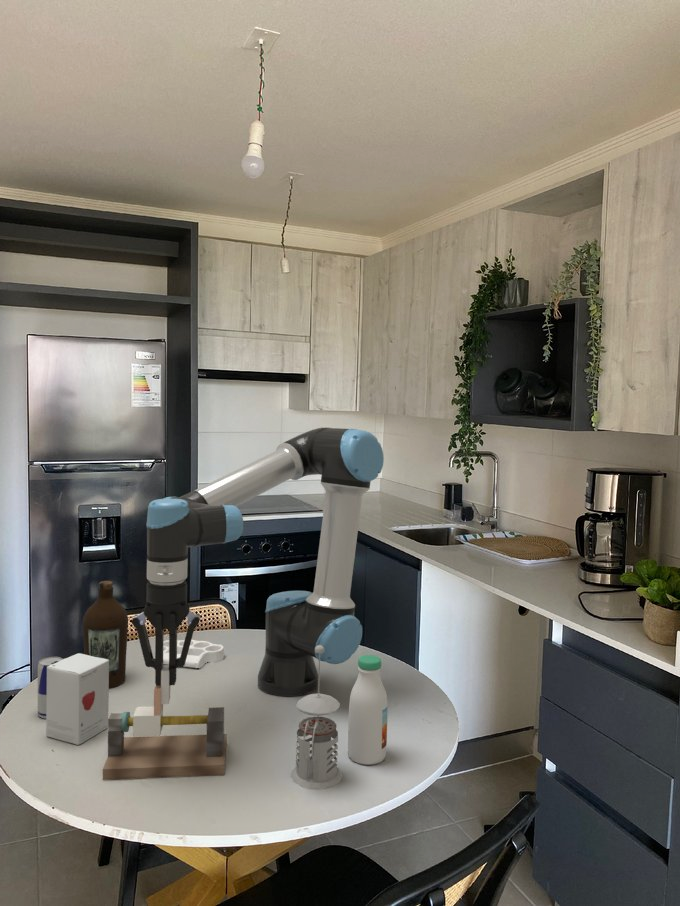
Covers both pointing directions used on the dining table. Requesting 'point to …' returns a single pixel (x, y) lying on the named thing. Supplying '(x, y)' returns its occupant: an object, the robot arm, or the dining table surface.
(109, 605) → the olive oil
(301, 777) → the french press
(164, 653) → the white brass knuckles
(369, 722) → the milk bottle
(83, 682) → the supplement box
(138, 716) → the cube with tan panel
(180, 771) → the axle on two posts
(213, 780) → the dining table surface
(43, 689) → the energy drink
